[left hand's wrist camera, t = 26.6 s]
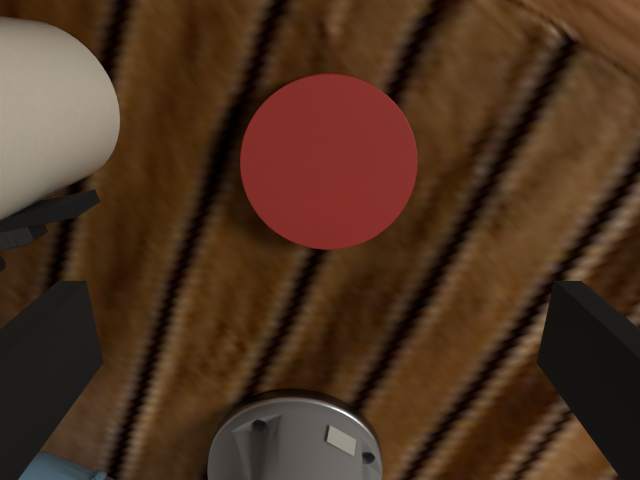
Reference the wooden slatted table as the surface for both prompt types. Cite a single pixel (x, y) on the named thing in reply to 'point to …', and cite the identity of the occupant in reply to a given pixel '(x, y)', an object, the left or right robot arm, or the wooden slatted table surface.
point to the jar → (50, 113)
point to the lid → (328, 161)
